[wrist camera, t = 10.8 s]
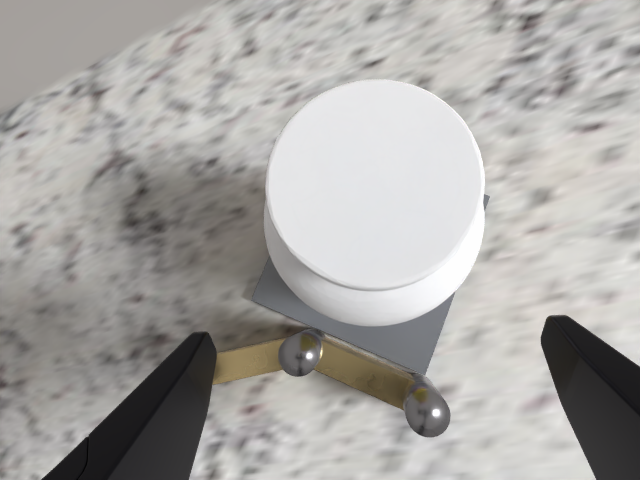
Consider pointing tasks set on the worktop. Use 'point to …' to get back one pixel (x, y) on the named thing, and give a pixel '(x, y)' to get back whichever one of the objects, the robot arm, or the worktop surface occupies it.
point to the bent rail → (341, 374)
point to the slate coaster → (386, 341)
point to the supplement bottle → (374, 202)
